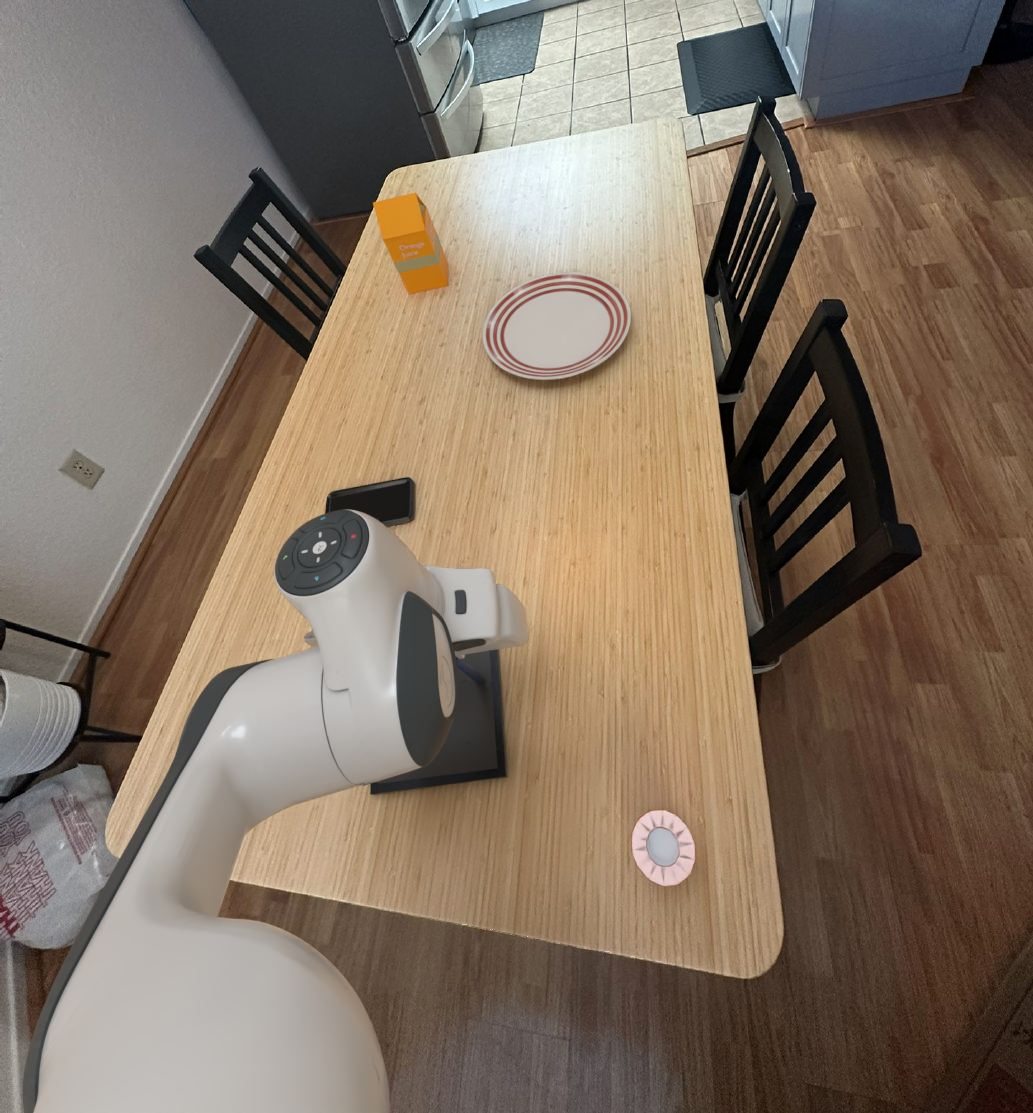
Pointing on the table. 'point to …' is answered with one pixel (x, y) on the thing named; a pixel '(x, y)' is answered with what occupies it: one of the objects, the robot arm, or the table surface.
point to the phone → (378, 500)
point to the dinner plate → (556, 326)
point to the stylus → (469, 671)
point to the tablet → (465, 735)
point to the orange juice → (412, 242)
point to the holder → (663, 847)
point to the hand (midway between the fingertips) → (447, 653)
